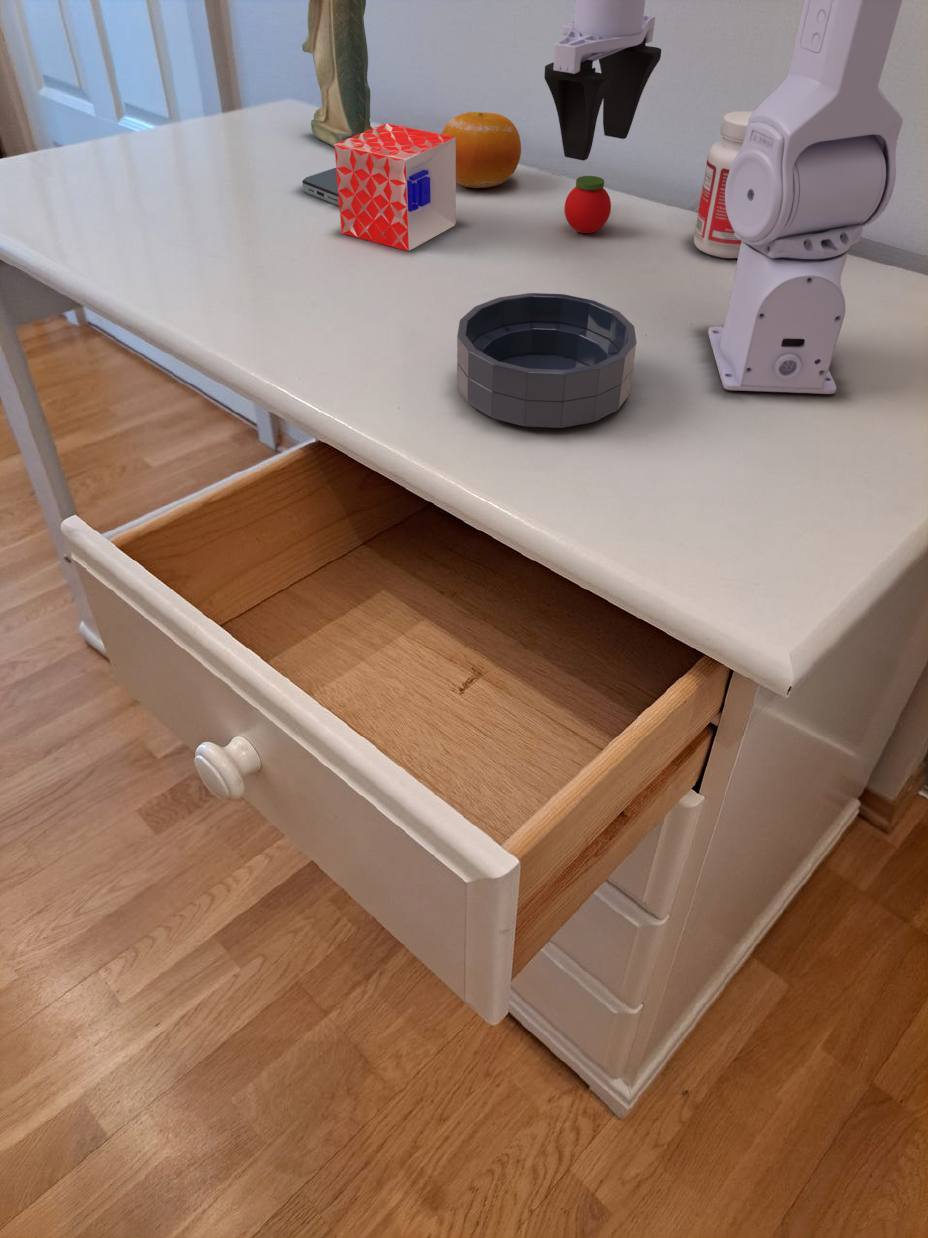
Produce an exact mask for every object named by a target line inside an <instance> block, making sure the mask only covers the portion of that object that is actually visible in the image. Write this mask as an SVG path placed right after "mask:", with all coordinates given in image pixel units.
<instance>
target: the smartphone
mask: <svg viewBox="0 0 928 1238" xmlns="http://www.w3.org/2000/svg"><path fill="white" fill-rule="evenodd" d="M301 185H302V190H303V191H304V192H305V193H306V194H308V195H311V196H313V197H315V198H318V199H321V200H323V201H325V202H327V203H329V204H332V205H336V206H338V207H339V195H338V183H337V171H336V167H333V168H331V169H327V170H324V171H321V172H318V173H316V174H312V175H309V176H306V177H305V178H304V179H303V180H302V181H301Z"/></svg>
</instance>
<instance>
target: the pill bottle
mask: <svg viewBox="0 0 928 1238" xmlns="http://www.w3.org/2000/svg"><path fill="white" fill-rule="evenodd" d="M754 111H755V110H754ZM754 111H753V110H735V111H730V112H727V113H725V114H724V115H723V117H722V121H721V126H720V136H721V139H720V140H718V141H716V142H715V143H714V144H713V145H712V146H711V147H710V148H709V150H708V153H707V157H706V164H705V170H704V176H703V182H702V188H701V194H700V201H699V204H698V211H697V218H696V223H695V229H694V234H693V235H694V236H693V244H694V246H695V247H696V248H697V250H698V251H700V252H702V253H704V254H707V255H709V256H712V257H715V258H720V259H738V255H739V251H740V246H741V240H740V239H738V238H736V237H735V236H734V230H733V228H732V226H731V224H730V221H729V219H728V216H727V212H726V206H725V188H726V182H727V178H728V174H729V171H730V168H731V166H732V163H733V161H734V159H735V158H736V156H737V154H738V152H739V151H740V149H741V146H742V144H743V141H744V138H745V134H746V130H747V125H748V120H749V117H750V116H751V114H752V113H753V112H754Z"/></svg>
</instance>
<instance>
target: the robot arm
mask: <svg viewBox="0 0 928 1238" xmlns="http://www.w3.org/2000/svg"><path fill="white" fill-rule="evenodd" d="M902 2H903V0H804V2H803V6H802V11H801V16H800V20H799V24H798V29H797V33H796V38H795V43H794V47H793V50H792V56H791V61H790V65H789V70H788V74H787V76H786V78H785V80H784V81H783V82H781V84H780V85H778V87H777V88H776V89H775V90H774V91H773V92H772V93H770V95H769V96H768V97H766V99H764V101H763V102H761V104H760V105H758V106H757V108H756V109H755V110H754V112H753V113H752V114H751V116H750V117H749V120H748V125H747V130H746V134H745V138H744V141H743V144H742V146H741V149H740V151H739V152H738V154H737V156H736V158H735V159H734V161H733V163H732V166H731V168H730V171H729V174H728V178H727V182H726V188H725V206H726V212H727V216H728V219H729V221H730V224H731V226H732V228H733V230H734V236H735V237H736V238H738V239H740V240H741V246H740V251H739V255H738V258H737V261H736V265H735V270H734V275H733V279H732V284H731V289H730V294H729V298H728V304H727V309H726V313H725V317H724V318H725V319H724V323H723V326H717V325H716V326H710V327H709V328H708V331H707V334H708V335H707V336H708V338H709V342H710V345H711V348H712V352H713V356H714V359H715V363H716V367H717V370H718V374H719V377H720V381H721V384H722V387H723V388H724V389H725V390H727V391H739V392H741V391H742V392H763V393H764V392H765V393H767V392H768V393H769V392H770V393H793V394H819V395H832V394H835V393H836V392H837V388H838V387H837V384H836V382H835V380H834V378H833V376H832V374H831V371H830V366H831V363H832V359H833V356H834V353H835V351H836V346H837V342H838V339H839V336H840V333H841V329H842V326H843V322H844V320H845V316H846V299H845V298H846V297H845V295H844V292H843V289H842V288H843V287H842V286H841V285H842V283H841V280H842V279H841V278H842V275H843V272H844V269H845V265H846V261H847V257H848V254H849V250H850V247H852V245H855V244H858V243H860V240H861V237H862V233H863V230H864V227H866V226H869V225H871V224H872V223H874V222H875V221H876V220H877V219H879V218H880V217H881V215H882V214H883V213H884V212H885V210H886V208H887V207H888V205H889V203H890V201H891V198H892V195H893V193H894V189H895V185H896V177H897V160H896V152H897V145H898V139H899V136H900V132H901V129H902V126H903V123H904V119H903V117H902V116H901V114H900V112H899V111H898V109H897V108H896V107H895V106H894V104H893V103H892V102H891V101H890V100H889V99H888V97H887V96H886V95H885V94H884V92H883V91H882V89H881V88H880V87H879V84H880V81H881V78H882V74H883V70H884V67H885V63H886V59H887V56H888V53H889V49H890V45H891V42H892V38H893V35H894V31H895V27H896V24H897V20H898V17H899V13H900V9H901V7H902ZM645 7H646V0H575V10H574V20H573V21H570V22H567V23H564V24H562V26H561V34H562V35H564V38H562V39H561V40H560V41H558V42H556V43H554V53H553V62H550V63H548V64H546V65H545V66H544V78H543V79H544V81H545V83H546V84H547V87H548V89H549V91H550V95H551V96H552V99H553V102H554V105H555V109H556V113H557V118H558V123H559V131H560V136H561V143H562V150H563V154H564V157H565V158H568V159H573V160H577V161H581V162H582V161H583V162H584V161H586V160H588V159H589V156H590V154H591V151H592V147H593V142H594V137H595V133H596V132H595V131H596V126H597V121H598V117H599V114H600V109H601V106H602V129H603V135H604V136H605V137H609V138H610V137H611V138H616V139H621V140H625V139H627V137H628V135H629V132H630V129H631V127H632V124H633V121H634V119H635V115H636V111H637V108H638V106H639V103H640V99H641V97H642V95H643V92H644V89H645V87H646V85H647V83H648V81H649V79H650V77H651V75H652V73H653V72H654V71H655V68H656V67H657V65H658V64H659V62H660V60H661V57H662V48H660V47H656V46H651V45H646V44H650V43H651V42H653V39H654V30H655V21H656V16H654V15H647V14H645ZM596 61H598V62H599V63H598V64H599V67H600V72H597V71H596V67H593V66H594V65H593V63H594V62H596Z"/></svg>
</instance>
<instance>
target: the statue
mask: <svg viewBox="0 0 928 1238" xmlns="http://www.w3.org/2000/svg"><path fill="white" fill-rule="evenodd" d="M366 7H367V0H308V6H307V19H306V20H307V36H306V39H305V41H304V42H303V43H302V44H301V45H302V52H304V53H308V54H311V55H312V59H313V65H314V69H315V75H316V76H315V77H316V80H317V84H318V87H319V91H320V98H321V107H320V108H318V109H316V110H315V112H314V113H313V119H312V120H311V122H310V127H311V130H312V134H313V136H314V137H316V138H317V139H318V140H320V141H322V142H324V143H326V144H328V145H330V146H332V147H333V148H335V146H334V144H336V143H339V142H341V141H344V140H346V139H349V138H351V137H354V136H356V135H359V134H361V133H363V132H366V131H368V130H371V129H373V127H372V126H371V121H370V120H371V88H370V86H369V82H368V70H369V51H368V50H369V49H368V43H367V34H366V29H365V18H364V17H365V12H366Z"/></svg>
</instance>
